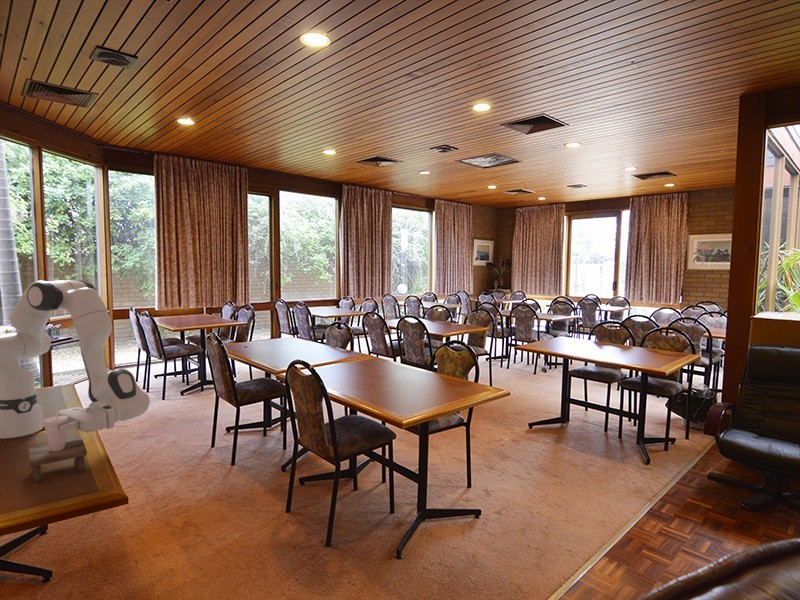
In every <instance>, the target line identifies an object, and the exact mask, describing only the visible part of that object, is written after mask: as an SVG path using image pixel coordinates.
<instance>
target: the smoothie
mask: <svg viewBox="0 0 800 600" xmlns="http://www.w3.org/2000/svg"><path fill="white" fill-rule="evenodd" d="M54 406H55V413H56V416H55V415H54V416H50V417H48V418H45V419H43V425H45V427H44V430H45V434H46V438H47V442H48V444H49V447H50V451H59V450H62V449H64V448H65V441H66V439H67V438H66V437H67V430H65V431H59V430H58V425H61V424H67V421H68V417H67V416H58V411H59V408H58V406H59V405H57V404H56V405H54Z"/></svg>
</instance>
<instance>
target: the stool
mask: <svg viewBox="0 0 800 600" xmlns="http://www.w3.org/2000/svg"><path fill="white" fill-rule="evenodd" d="M87 451H88V450H87V447H86V444H85V443H84V440H83V437H78V438H72V439H67V440H66V439H65V448H64V449H62V450H59V451H50V447H49V443H47V444H42V445H35V446H32V447H28V456H29V457H28V459H29V468H32V478H33V484H39V483H40V482H42V475H41V474H42V473H41V466H42V465H48V464H53V463H56V462H61V461H66V460H71V459H74V462H77V472H78V473H79V474H81V473H84V472H85V471H86V467H85V466H86V465H85V456H88V452H87Z"/></svg>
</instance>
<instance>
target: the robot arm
mask: <svg viewBox="0 0 800 600" xmlns="http://www.w3.org/2000/svg"><path fill="white" fill-rule="evenodd" d="M54 311H59V312H61V311H62V312H63V311H68V312H69V314H70V317H71V320H72V323H73V327H74V328H75V331H76V334H77V338H78V343H79V347H80V353H81V358H82V361H83V362H82V363H83V365H84V368H85V372H86V375H87V379H88V390H87V391H88V392H87V393H88V394H87V395H88V398H89V400H90V403H89V405H88V407H86V408H85V407H81V406H77V407H70V408H65V409H61V410H58V416H67V417H68V421H67V424H61V425H58V430H59V431H65V430H66V431H72V430H73V431H74V430H78V431H81V432H84V433H92V432H96V431H100V430H105V429H107V430H110V429H113V428H115V424H116V423H118V422H126V421H129V420H132V419H134V418H138V417H140V416H142V415H144V414H145V413H146V412H147V411H148V409H149V406H150V401H151V400H150V396H149V394H148V393H147V392H146V391H145V390H143V389H141V387H140V386H139V385H138V383H137V381H136V378H135V376H134V375H133V373H132V372H131V371H129V370H127V369H126V368H115V369H113V370H112V371H110V372H109V371H108V367H107V364H106V361H105V357H104V348H105V346H106V344H107V341H108V339H109V337H110V336H111V334H112V331H113V324H112V318H111V316H110V313H109V311H108V308H107V306H106V304H105V303H104V301H103V299H102V297H101V296H100V294H99V293H98V291H97V289H96V287H95V286H94V285H93V284H92V283H91V282H89V281H85V280H73V279H59V280H50V281H49V280H48V281H47V280H36V281H34V282H31V283H30V285H29V286H27V288H26V289H25V290H24V291H23V293H22V294H21V296H20V297H19V298H18V301H17V302H16V305H15V306H14V308H13V310H12V312H11V314H10V316H9V322H10V324H11V326H12V327H13V328H14V329H15V330H14V331H12V332H5V333H1V334H0V439H13V438H19V437H24V436H29V435H32V434H36V433H37V432H39V431H41V430H43V428H45V425H43V421H44V417H43V416H44V415H43V408H42V406H41V405H39V404H38V395H37V393H36V388H35V387H36V386H35V385H36V384H35V376H34V374H33V373H32V372H30V371H28V370H26V369H24V368H22V367H21V365H20V361H22V360H28V359H32V358H36V357H38V356H39V357H40V356H41V355H43V354H45V353H48V352H49V350H50V348H51V344H52V342H51V341H52V340H51V338H50V335H49V334H48V333H47V332H46V331H45V328H46V325H47V323H48V322H49V320H50V318H51V316H52V314H53V313H54ZM54 414H55V415H54V417H55V416H56V412H55V413H54Z"/></svg>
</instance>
